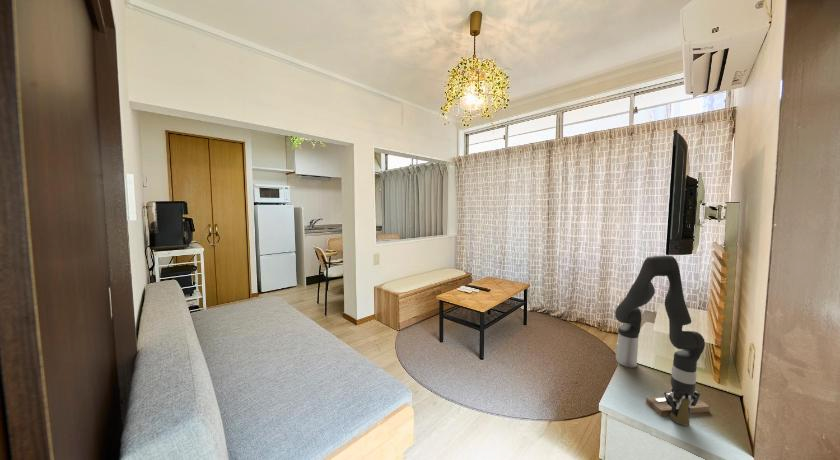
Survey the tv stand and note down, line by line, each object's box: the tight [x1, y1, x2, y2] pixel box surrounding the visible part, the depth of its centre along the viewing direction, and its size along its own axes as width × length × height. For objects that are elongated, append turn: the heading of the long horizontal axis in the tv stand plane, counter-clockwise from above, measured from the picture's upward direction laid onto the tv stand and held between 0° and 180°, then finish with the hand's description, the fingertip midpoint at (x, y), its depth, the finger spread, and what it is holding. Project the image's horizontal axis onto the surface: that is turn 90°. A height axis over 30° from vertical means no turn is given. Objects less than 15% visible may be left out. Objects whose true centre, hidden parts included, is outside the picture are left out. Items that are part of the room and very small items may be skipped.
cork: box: [669, 397, 690, 426], centre depth 121 cm, size 6×6×11 cm
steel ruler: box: [655, 398, 666, 402], centre depth 131 cm, size 2×14×1 cm, turn 97°
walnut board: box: [645, 395, 710, 417], centre depth 129 cm, size 8×22×3 cm, turn 93°
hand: (680, 414), depth 121 cm, fingers closed on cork, 4 cm apart
